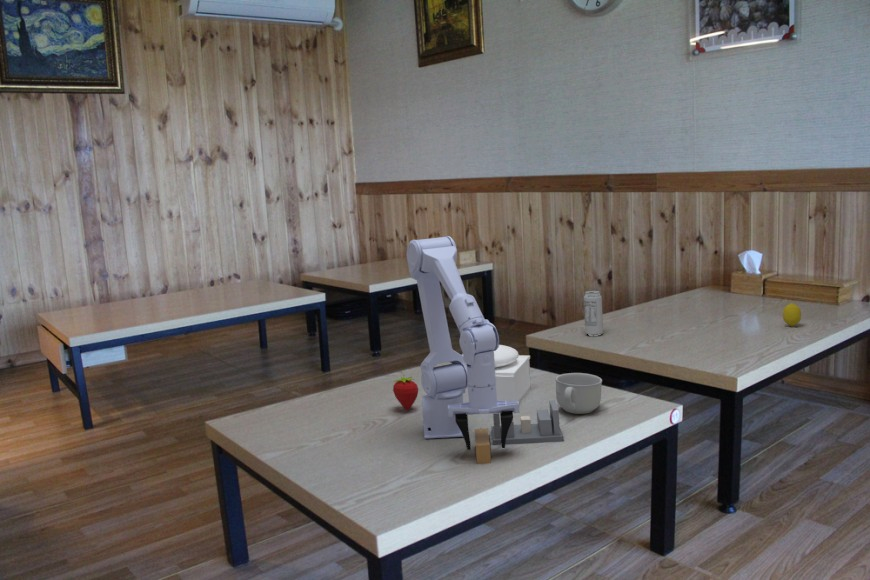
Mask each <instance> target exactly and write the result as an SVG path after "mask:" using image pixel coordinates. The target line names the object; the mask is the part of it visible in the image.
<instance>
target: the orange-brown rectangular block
mask: <svg viewBox="0 0 870 580" xmlns="http://www.w3.org/2000/svg"><path fill="white" fill-rule="evenodd" d="M474 438H475V440H474V441H475V453H476V455H475V456H476V464H479V465H480V464H491V463H492V461H491V460H492V459H491V457H492V456H493V455H492V444H491V435H490V434H489V429H488V428H476V429H474Z"/></svg>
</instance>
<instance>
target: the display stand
mask: <svg viewBox="0 0 870 580" xmlns="http://www.w3.org/2000/svg"><path fill="white" fill-rule="evenodd" d="M548 402H549V409H537V410H536V422H537V423H531V422H532V421H531V417H530V416H531V415H524V416H523V415H522V416H520V424H514V419H513V420H512V423H511V425H510V427H509V430H508V433H507V437H506V443H505V445H514V444H515V445H516V444H533V443H550V442H554V443H555V442H564V440H565V438H564V434H563V431H562V428H561V427H560V410H559V407H558V404H557V403H556V400H554V399H553V400H549V401H548ZM492 418H493V419H492V420H493V425H491V426H490V430H491V440H492V445H493V446H498V445H500V446H501V417H500V413H492Z"/></svg>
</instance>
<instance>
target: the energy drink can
mask: <svg viewBox="0 0 870 580" xmlns="http://www.w3.org/2000/svg"><path fill="white" fill-rule="evenodd" d="M602 298H603V297H602V294H601V292H600V291H599V290H588V291H585V294H584V296H583V310H584V311H583V312H584V313H583V314H584V333H585V334H586V335H587V334H591V335H598V334H603V333H604V323H603V322H604V321H603V319H604V318H603V317H604V316H603V299H602Z"/></svg>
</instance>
